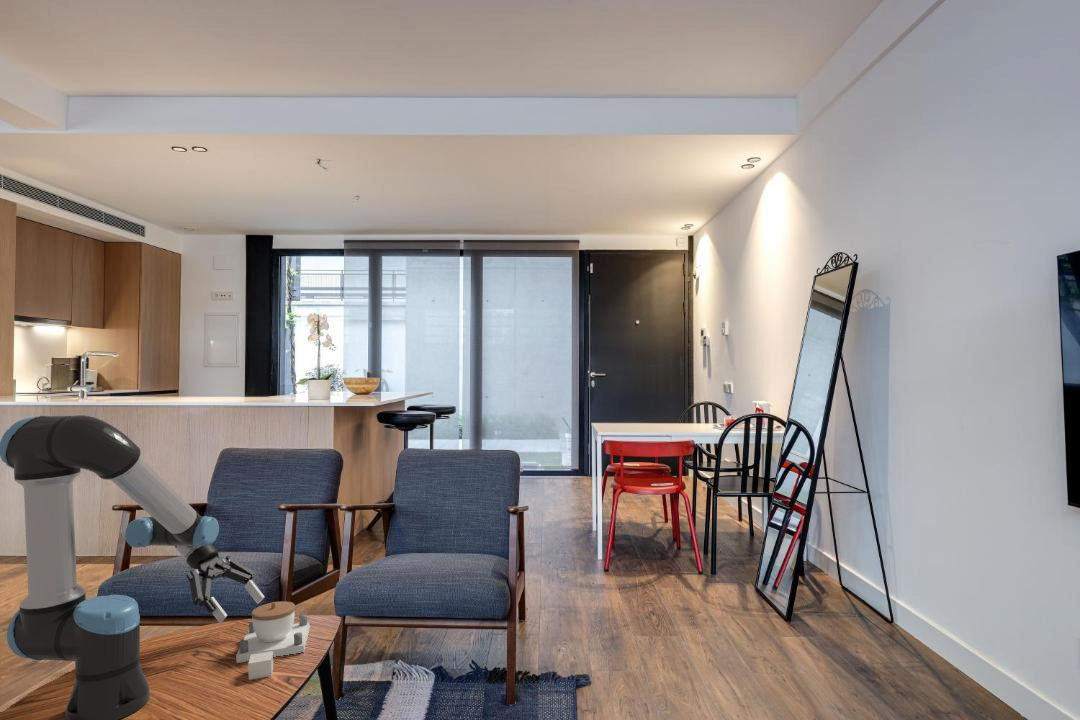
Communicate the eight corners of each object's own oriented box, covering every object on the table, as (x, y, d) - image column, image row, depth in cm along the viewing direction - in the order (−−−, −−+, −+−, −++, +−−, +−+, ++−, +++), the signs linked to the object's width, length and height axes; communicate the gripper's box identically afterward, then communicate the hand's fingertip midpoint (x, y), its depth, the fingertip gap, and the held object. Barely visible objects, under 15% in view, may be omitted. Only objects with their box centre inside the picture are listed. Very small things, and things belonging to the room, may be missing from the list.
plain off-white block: (248, 680, 145) (248, 663, 146) (251, 671, 150) (250, 654, 150) (271, 676, 147) (271, 659, 147) (273, 667, 152) (273, 651, 152)
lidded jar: (303, 629, 169) (302, 595, 169) (281, 647, 158) (280, 610, 158) (267, 628, 170) (267, 594, 171) (243, 645, 160) (242, 609, 160)
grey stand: (236, 663, 154) (236, 645, 155) (248, 637, 170) (248, 621, 170) (304, 653, 159) (303, 635, 159) (309, 628, 174) (309, 613, 174)
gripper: (166, 555, 159) (214, 618, 155) (239, 531, 183) (282, 585, 179) (151, 574, 161) (198, 637, 156) (225, 548, 185) (267, 601, 180)
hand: (243, 609), depth 167 cm, fingers open, 13 cm apart
